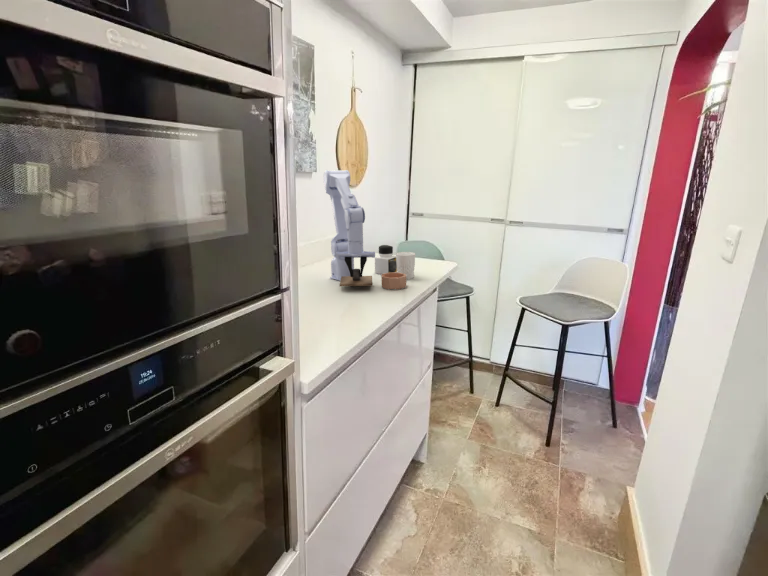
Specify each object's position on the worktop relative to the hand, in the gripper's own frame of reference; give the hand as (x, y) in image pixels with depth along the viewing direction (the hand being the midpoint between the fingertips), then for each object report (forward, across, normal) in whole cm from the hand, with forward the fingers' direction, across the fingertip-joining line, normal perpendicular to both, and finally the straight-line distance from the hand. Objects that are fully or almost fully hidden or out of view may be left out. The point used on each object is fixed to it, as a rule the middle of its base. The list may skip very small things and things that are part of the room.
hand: (356, 276), depth 161 cm
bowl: (+4, +14, 0) cm, 15 cm away
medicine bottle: (+4, +12, +23) cm, 27 cm away
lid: (+2, 0, 0) cm, 2 cm away
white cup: (+4, +20, +14) cm, 25 cm away
